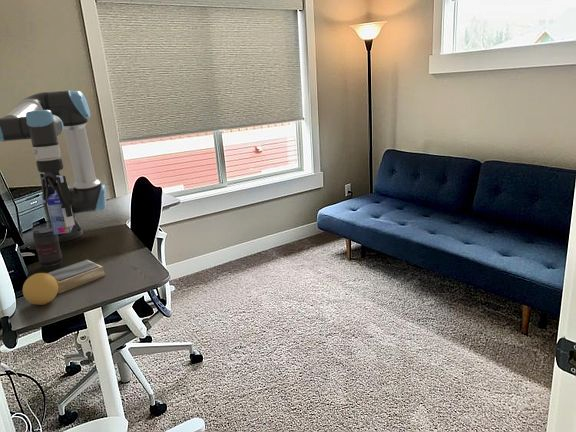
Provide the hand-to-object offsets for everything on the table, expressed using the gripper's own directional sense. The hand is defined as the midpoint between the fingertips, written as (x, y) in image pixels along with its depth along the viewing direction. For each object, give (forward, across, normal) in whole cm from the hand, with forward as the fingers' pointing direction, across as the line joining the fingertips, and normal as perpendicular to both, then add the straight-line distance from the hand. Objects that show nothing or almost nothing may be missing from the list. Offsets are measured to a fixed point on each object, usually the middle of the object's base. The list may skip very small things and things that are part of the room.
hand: (62, 223), depth 150 cm
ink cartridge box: (+3, 0, 0) cm, 3 cm away
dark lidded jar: (+21, -21, +1) cm, 30 cm away
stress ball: (+22, +9, -14) cm, 27 cm away
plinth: (+21, 0, 0) cm, 21 cm away
